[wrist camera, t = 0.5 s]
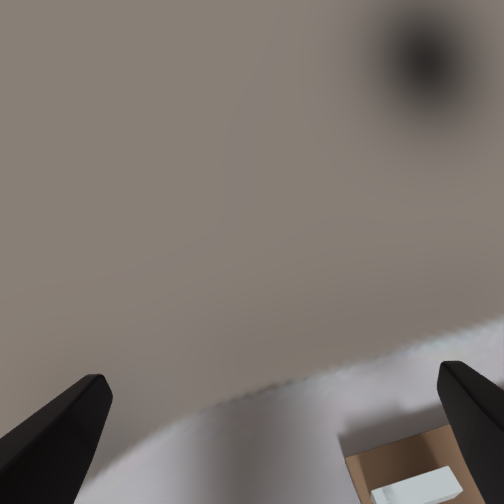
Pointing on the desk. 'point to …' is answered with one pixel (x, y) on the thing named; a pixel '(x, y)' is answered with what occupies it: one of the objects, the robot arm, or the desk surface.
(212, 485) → the desk surface
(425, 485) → the holder
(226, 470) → the desk surface
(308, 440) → the desk surface
